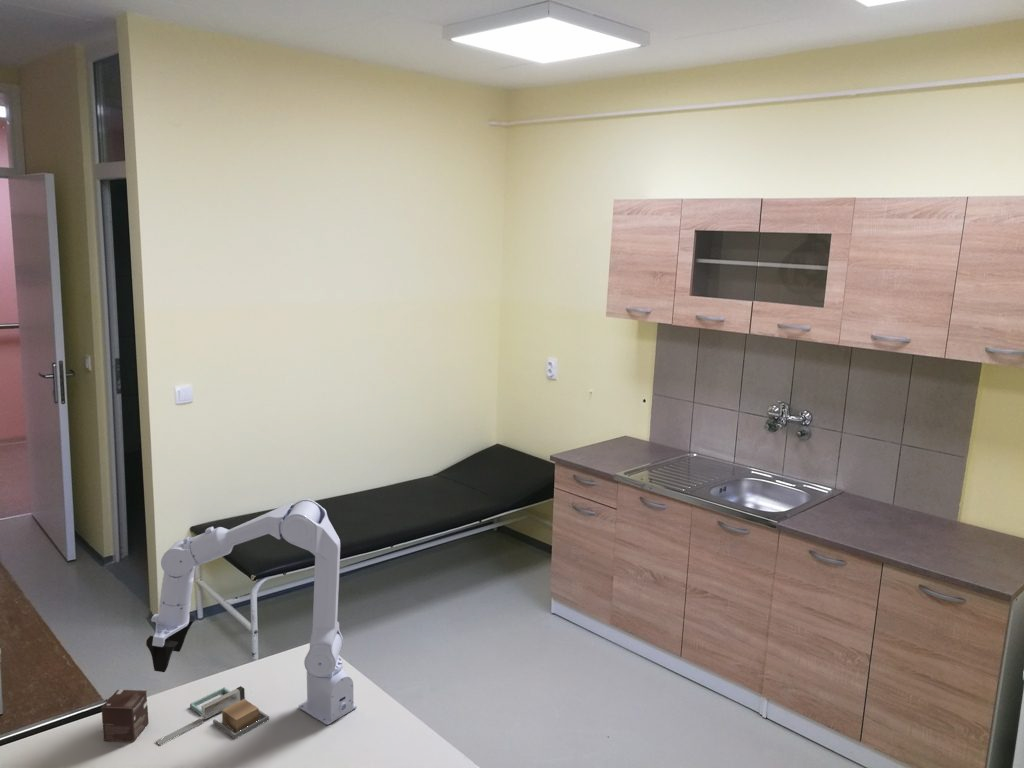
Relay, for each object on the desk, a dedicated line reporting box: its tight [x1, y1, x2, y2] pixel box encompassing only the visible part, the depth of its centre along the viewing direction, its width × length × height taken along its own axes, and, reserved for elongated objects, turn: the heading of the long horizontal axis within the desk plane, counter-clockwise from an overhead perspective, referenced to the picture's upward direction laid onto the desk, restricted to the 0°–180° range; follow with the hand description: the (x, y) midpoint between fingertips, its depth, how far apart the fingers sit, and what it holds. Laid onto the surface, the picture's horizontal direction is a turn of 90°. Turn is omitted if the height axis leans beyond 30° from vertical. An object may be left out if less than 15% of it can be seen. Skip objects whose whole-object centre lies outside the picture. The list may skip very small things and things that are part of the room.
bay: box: [189, 687, 232, 716], centre depth 158 cm, size 4×8×1 cm, turn 143°
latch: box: [200, 685, 246, 720], centre depth 155 cm, size 1×9×2 cm, turn 143°
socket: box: [155, 709, 270, 746], centre depth 149 cm, size 11×18×1 cm, turn 143°
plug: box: [221, 698, 260, 733], centre depth 152 cm, size 5×5×3 cm
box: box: [101, 689, 149, 743], centre depth 147 cm, size 6×6×7 cm
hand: (167, 660), depth 154 cm, fingers open, 7 cm apart
